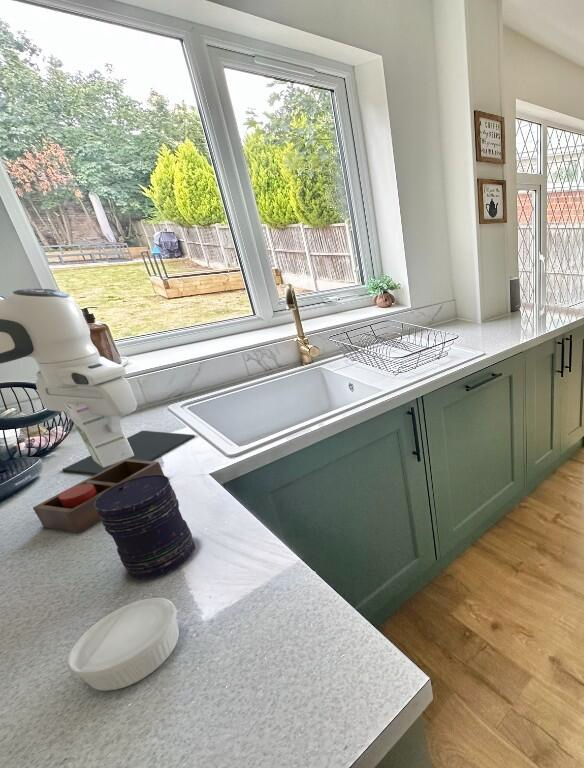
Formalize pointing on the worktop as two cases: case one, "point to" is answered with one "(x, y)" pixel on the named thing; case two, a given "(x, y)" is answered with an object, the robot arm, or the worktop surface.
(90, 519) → the caddy
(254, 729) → the worktop surface
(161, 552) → the dark blue cylinder
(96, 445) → the syrup box
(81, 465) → the mat
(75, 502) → the spice tin
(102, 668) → the ramekin
